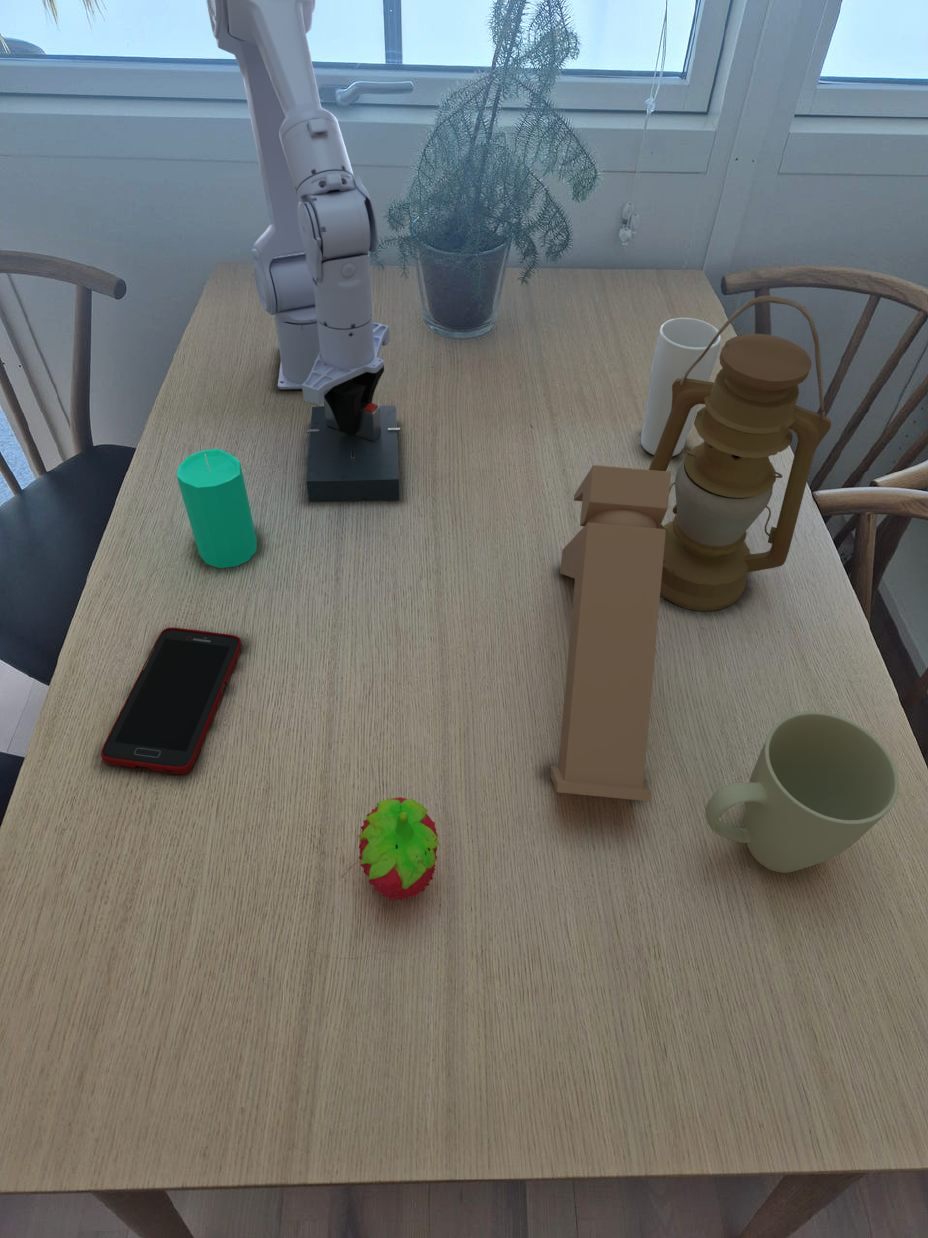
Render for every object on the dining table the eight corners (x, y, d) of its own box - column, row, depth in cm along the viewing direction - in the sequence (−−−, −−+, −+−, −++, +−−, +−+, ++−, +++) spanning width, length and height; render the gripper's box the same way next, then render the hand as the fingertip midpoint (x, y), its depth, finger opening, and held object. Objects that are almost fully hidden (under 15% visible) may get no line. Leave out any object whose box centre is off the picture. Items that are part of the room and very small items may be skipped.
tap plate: (311, 425, 101) (309, 403, 98) (399, 424, 102) (398, 402, 99) (305, 502, 91) (302, 479, 89) (402, 500, 92) (401, 477, 90)
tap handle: (326, 425, 96) (322, 395, 93) (333, 418, 97) (330, 388, 94) (374, 442, 94) (372, 411, 91) (381, 434, 95) (379, 404, 92)
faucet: (607, 754, 85) (629, 512, 85) (650, 801, 62) (680, 470, 62) (538, 747, 85) (560, 506, 85) (556, 792, 62) (586, 462, 62)
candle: (226, 576, 83) (201, 483, 74) (186, 550, 86) (158, 457, 77) (269, 545, 87) (251, 451, 78) (230, 520, 89) (208, 427, 80)
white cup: (693, 464, 98) (728, 350, 87) (636, 462, 98) (664, 347, 87) (684, 430, 103) (716, 317, 91) (630, 428, 103) (655, 315, 91)
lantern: (764, 549, 89) (878, 278, 66) (773, 621, 82) (904, 345, 59) (623, 531, 90) (689, 259, 67) (621, 600, 83) (693, 322, 61)
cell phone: (99, 764, 68) (96, 758, 68) (165, 631, 78) (163, 625, 77) (190, 777, 68) (187, 771, 67) (245, 642, 78) (243, 635, 77)
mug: (740, 768, 70) (786, 683, 61) (852, 838, 66) (918, 758, 57) (676, 861, 65) (716, 782, 56) (795, 943, 61) (858, 872, 52)
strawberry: (437, 831, 66) (439, 764, 58) (438, 923, 61) (439, 863, 53) (364, 831, 65) (356, 764, 58) (359, 924, 60) (349, 864, 53)
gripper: (339, 358, 79) (349, 471, 89) (412, 295, 88) (414, 404, 98) (278, 339, 81) (295, 452, 91) (355, 279, 90) (363, 387, 100)
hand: (353, 426), depth 95 cm, fingers closed on tap handle, 2 cm apart
